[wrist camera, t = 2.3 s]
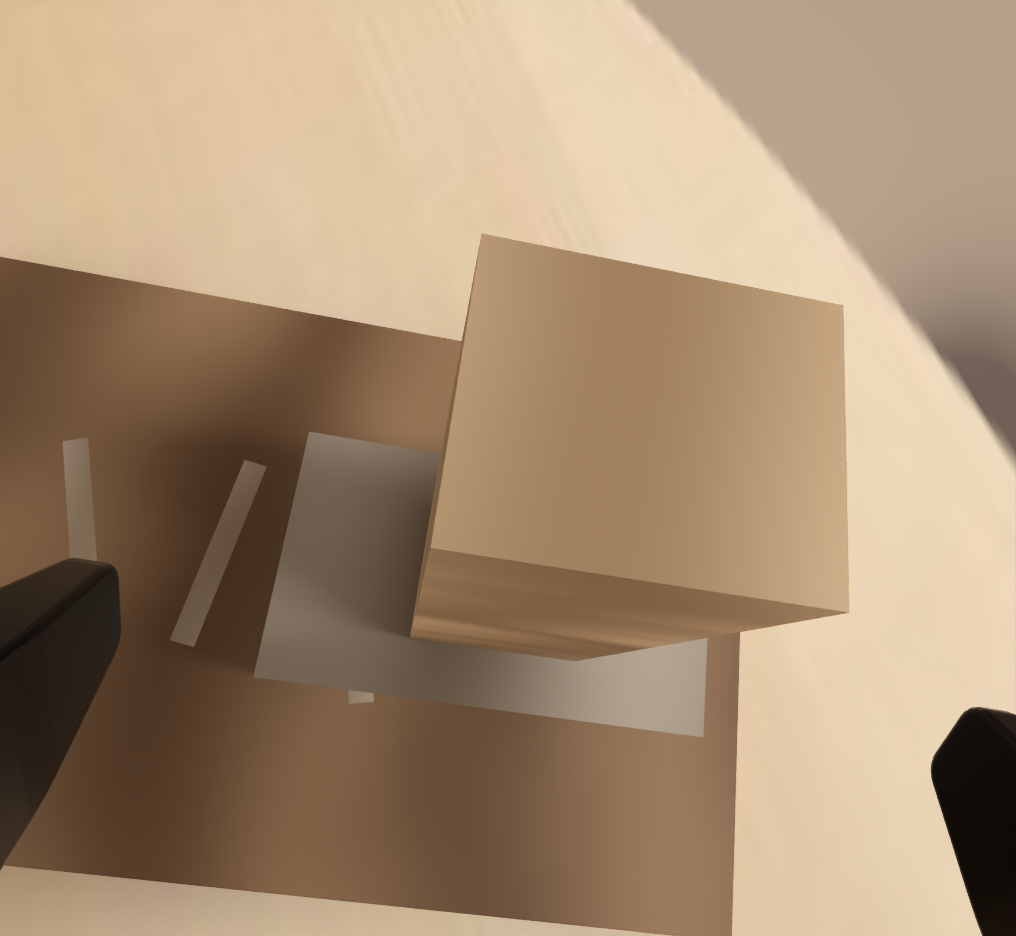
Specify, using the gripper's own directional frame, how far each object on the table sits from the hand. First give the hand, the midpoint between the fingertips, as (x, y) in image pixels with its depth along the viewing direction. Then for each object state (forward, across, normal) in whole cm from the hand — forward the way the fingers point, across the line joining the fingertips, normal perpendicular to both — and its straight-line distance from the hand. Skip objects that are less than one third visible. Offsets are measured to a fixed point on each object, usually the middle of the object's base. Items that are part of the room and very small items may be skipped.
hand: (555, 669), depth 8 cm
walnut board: (+8, +5, +6) cm, 11 cm away
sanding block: (+7, 0, +5) cm, 8 cm away
